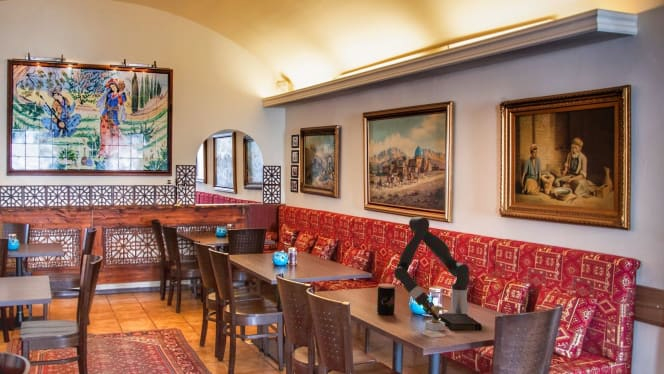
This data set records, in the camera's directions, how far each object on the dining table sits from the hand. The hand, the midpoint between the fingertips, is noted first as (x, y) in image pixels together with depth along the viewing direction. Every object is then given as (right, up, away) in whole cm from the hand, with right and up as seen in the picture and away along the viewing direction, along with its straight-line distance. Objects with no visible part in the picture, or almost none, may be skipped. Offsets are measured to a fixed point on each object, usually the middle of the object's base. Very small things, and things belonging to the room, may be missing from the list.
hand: (438, 318), depth 391 cm
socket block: (-2, -6, +1) cm, 6 cm away
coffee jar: (-27, -4, +36) cm, 45 cm away
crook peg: (-1, -6, 0) cm, 6 cm away
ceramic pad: (-5, -6, -13) cm, 15 cm away
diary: (+13, -7, +11) cm, 18 cm away
